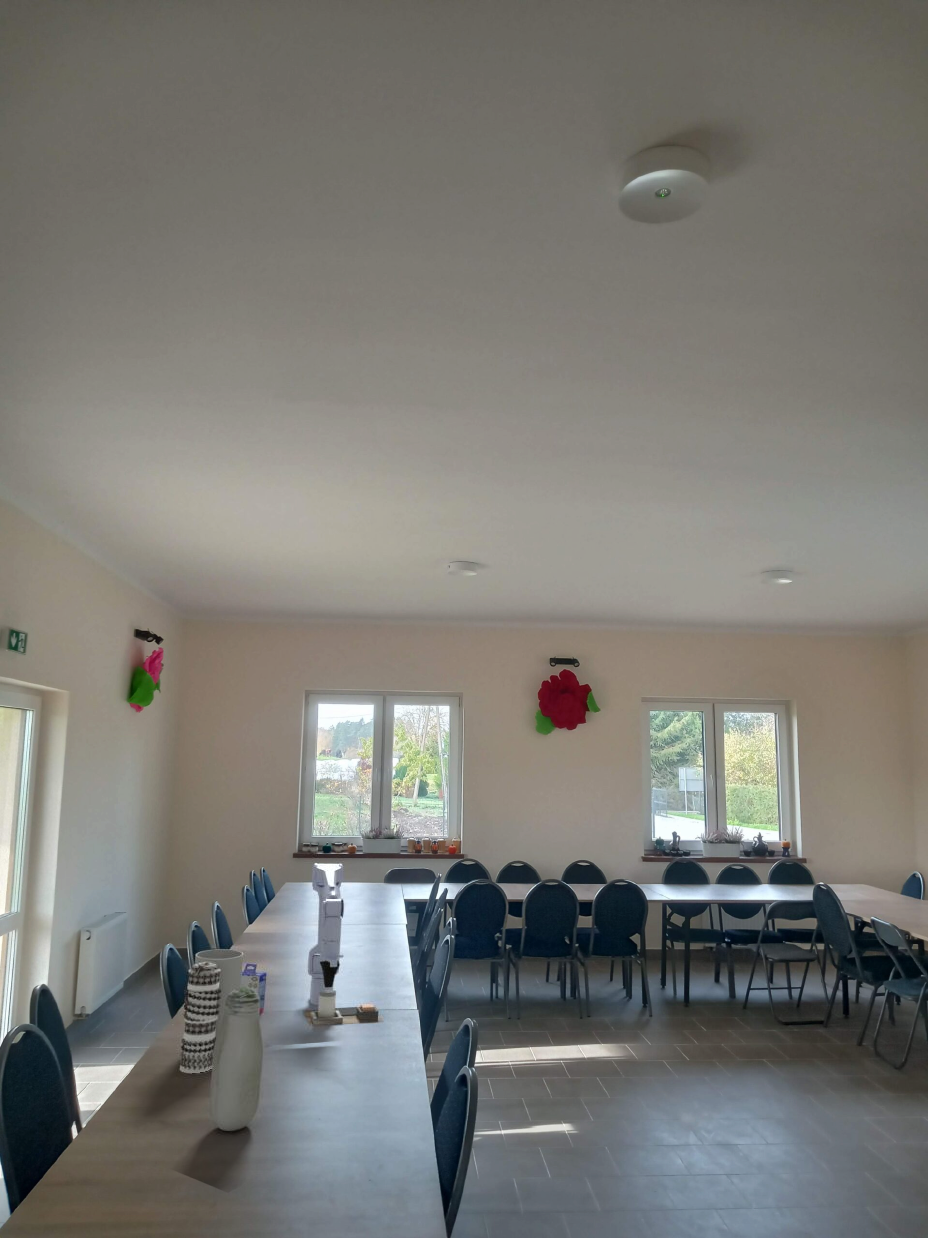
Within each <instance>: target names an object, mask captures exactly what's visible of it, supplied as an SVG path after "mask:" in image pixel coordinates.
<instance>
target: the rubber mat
mask: <svg viewBox="0 0 928 1238" xmlns="http://www.w3.org/2000/svg"><path fill="white" fill-rule="evenodd" d="M357 1007H358V1006H353V1007H352V1006H350V1007H349V1006H346V1007H335V1010H338V1011H339V1012H340V1014H341V1016H354V1015H356V1012H357Z"/></svg>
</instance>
